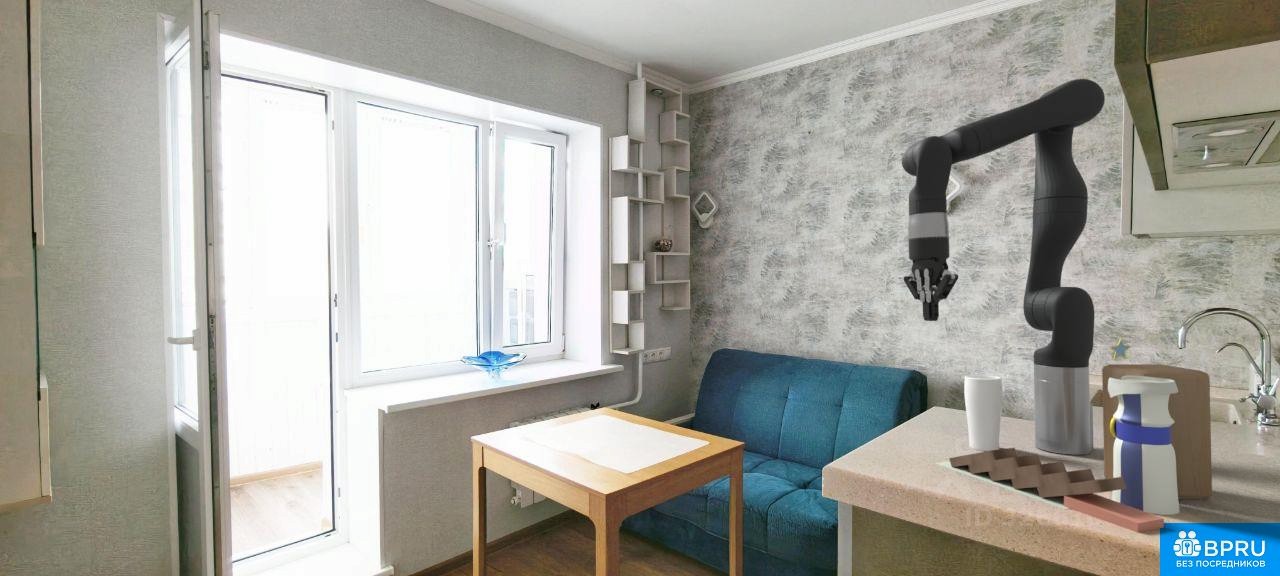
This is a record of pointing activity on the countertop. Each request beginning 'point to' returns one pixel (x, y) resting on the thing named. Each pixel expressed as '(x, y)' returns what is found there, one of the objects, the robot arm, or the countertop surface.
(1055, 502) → the mat
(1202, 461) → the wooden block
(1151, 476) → the white and blue jug
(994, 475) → the domino
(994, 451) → the domino
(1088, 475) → the domino
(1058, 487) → the domino
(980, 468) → the domino
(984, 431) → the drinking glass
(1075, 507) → the domino
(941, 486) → the countertop surface
